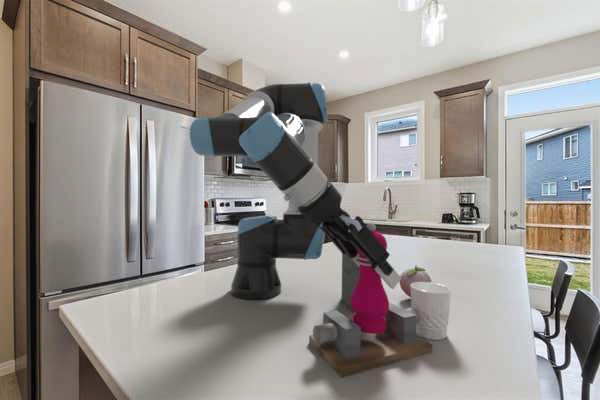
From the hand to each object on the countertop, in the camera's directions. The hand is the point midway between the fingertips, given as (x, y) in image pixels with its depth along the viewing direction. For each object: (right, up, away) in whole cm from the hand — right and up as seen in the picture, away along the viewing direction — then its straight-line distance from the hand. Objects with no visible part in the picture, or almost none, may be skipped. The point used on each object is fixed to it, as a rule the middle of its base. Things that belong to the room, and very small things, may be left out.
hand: (385, 278), depth 58 cm
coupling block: (-4, -13, -1) cm, 13 cm away
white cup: (+11, -13, +5) cm, 18 cm away
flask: (-2, -13, +22) cm, 25 cm away
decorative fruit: (+16, -13, +26) cm, 34 cm away
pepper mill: (-4, -9, -2) cm, 10 cm away
